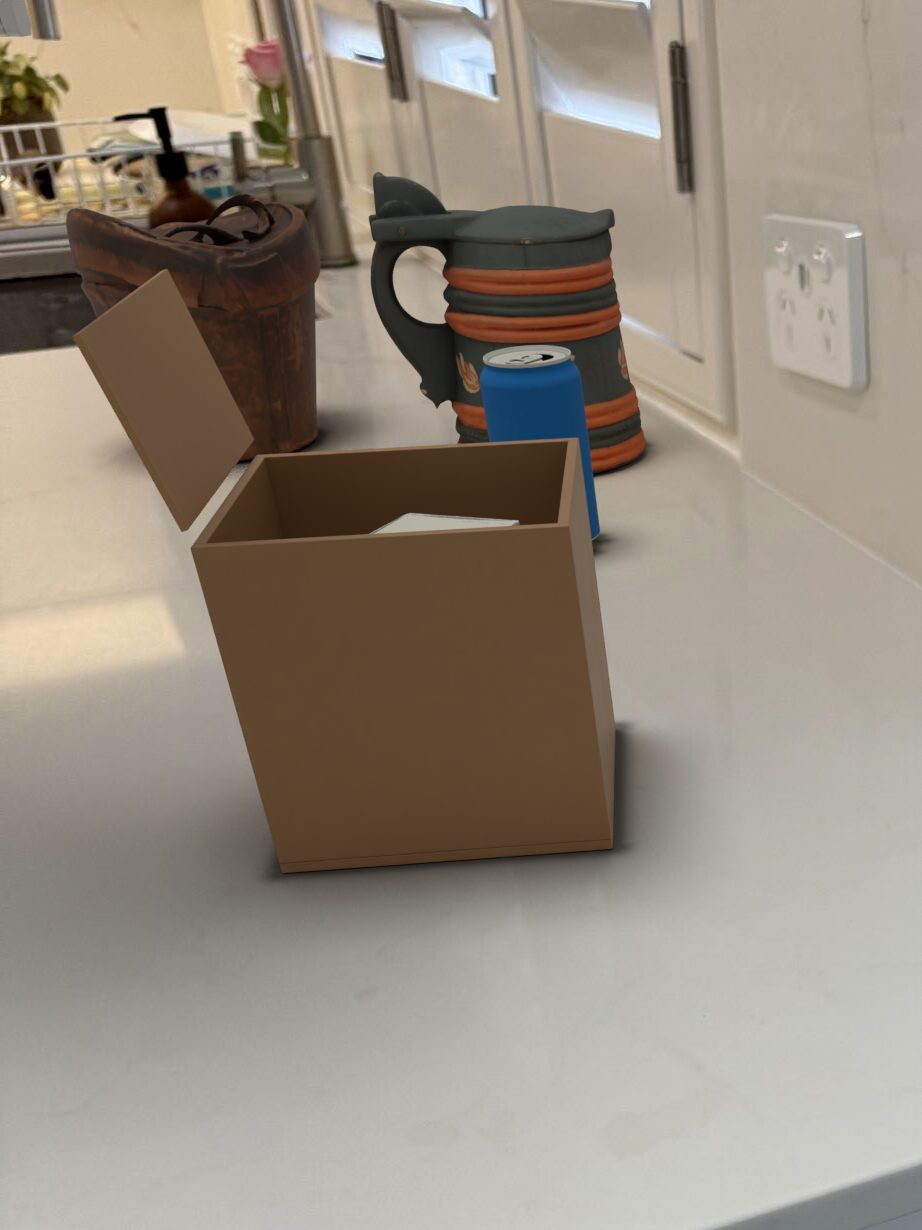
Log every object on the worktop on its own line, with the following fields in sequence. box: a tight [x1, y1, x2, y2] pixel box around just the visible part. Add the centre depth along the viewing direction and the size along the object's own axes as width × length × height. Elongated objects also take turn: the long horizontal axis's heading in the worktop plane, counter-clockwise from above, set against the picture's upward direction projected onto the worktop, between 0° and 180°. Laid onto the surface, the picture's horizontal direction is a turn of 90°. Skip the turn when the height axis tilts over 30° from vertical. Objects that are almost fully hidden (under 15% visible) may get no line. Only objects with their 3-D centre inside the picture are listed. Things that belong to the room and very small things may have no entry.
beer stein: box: [368, 171, 647, 474], centre depth 120 cm, size 19×15×20 cm
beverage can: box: [480, 345, 601, 541], centre depth 105 cm, size 6×6×12 cm
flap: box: [72, 269, 254, 533], centre depth 65 cm, size 7×14×1 cm
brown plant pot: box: [65, 193, 321, 461], centre depth 127 cm, size 18×20×18 cm
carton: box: [190, 438, 617, 874], centre depth 73 cm, size 15×14×14 cm
